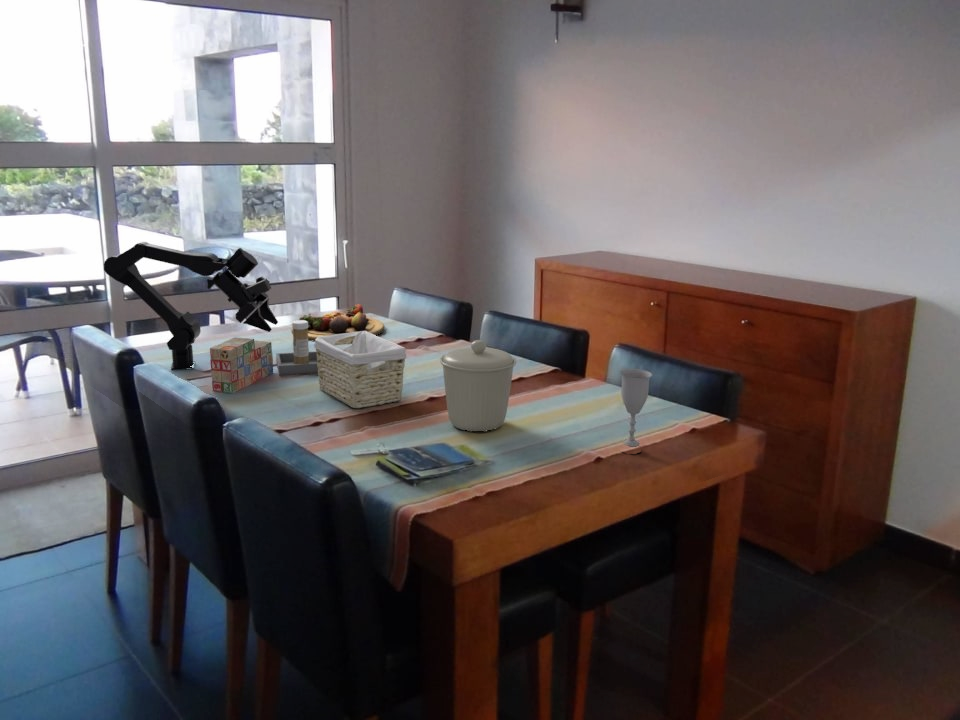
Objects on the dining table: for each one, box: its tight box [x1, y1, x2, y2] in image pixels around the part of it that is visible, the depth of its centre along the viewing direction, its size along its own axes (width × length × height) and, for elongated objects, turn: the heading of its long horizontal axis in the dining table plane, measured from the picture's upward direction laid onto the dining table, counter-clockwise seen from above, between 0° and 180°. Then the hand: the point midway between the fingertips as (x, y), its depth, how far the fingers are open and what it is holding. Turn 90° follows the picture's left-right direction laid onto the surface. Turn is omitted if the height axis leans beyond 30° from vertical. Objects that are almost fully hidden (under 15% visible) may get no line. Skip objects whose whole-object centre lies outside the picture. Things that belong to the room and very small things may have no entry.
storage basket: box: [314, 331, 407, 409], centre depth 224 cm, size 24×16×15 cm
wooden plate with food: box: [291, 303, 385, 342], centre depth 294 cm, size 32×32×8 cm
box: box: [275, 350, 318, 377], centre depth 249 cm, size 14×14×3 cm
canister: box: [439, 339, 517, 432], centre depth 201 cm, size 18×18×21 cm
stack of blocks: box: [209, 336, 274, 394], centre depth 234 cm, size 21×6×12 cm, turn 164°
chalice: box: [620, 368, 653, 447], centre depth 188 cm, size 7×7×18 cm
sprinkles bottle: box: [291, 319, 310, 364], centre depth 247 cm, size 5×5×14 cm
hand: (273, 327), depth 246 cm, fingers open, 9 cm apart
